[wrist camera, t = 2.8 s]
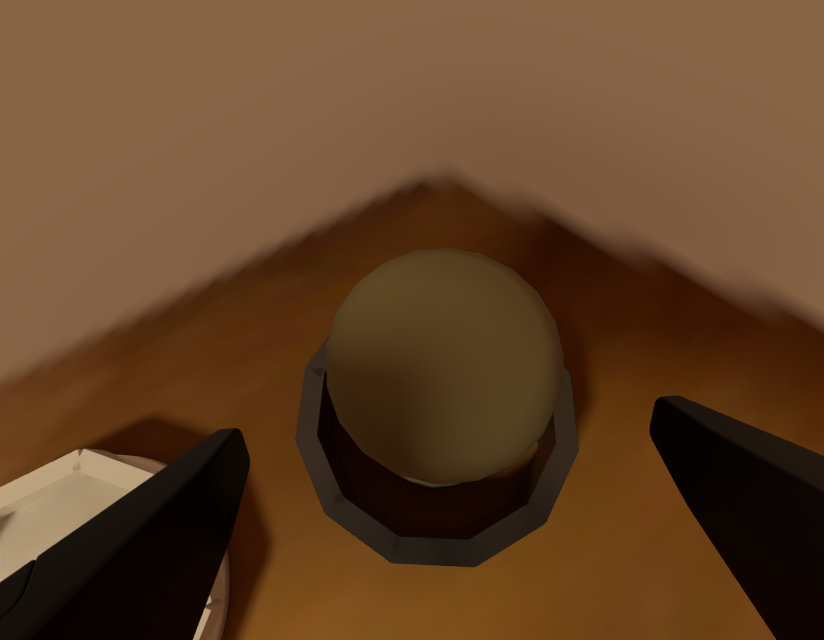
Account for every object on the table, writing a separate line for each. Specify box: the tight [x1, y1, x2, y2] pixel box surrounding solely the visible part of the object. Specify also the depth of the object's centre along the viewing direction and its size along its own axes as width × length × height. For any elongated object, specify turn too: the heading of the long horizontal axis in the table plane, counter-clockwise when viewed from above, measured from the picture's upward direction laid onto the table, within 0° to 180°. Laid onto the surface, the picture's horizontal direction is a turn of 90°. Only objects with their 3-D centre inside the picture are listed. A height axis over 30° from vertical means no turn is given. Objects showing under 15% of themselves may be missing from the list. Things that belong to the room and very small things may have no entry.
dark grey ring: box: [295, 336, 579, 567], centre depth 16 cm, size 11×11×2 cm
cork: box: [327, 248, 564, 489], centre depth 12 cm, size 6×6×11 cm
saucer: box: [0, 449, 230, 640], centre depth 14 cm, size 11×11×2 cm
